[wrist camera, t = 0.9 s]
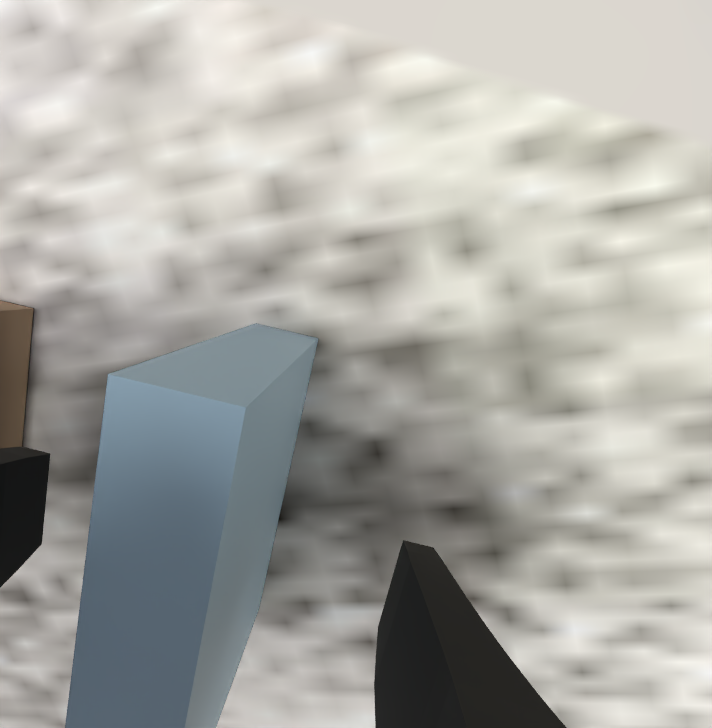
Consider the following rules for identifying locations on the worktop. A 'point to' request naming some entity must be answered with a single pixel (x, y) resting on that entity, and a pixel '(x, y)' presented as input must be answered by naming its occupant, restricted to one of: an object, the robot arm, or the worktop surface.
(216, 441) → the door panel
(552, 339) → the worktop surface
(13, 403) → the bottom track
